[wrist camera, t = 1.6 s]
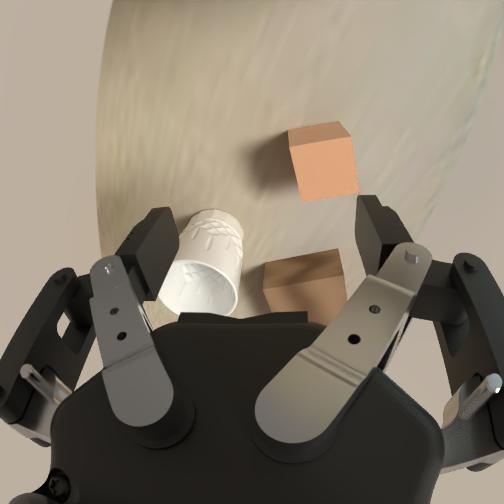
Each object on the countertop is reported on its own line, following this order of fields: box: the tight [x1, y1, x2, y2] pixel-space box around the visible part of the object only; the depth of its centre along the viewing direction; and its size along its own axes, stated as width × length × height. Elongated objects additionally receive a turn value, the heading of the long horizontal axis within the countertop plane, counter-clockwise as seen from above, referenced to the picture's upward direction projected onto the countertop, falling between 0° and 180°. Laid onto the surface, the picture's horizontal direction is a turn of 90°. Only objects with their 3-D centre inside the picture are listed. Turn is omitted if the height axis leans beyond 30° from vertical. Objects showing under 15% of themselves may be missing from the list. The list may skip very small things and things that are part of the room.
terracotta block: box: [288, 121, 359, 203], centre depth 25 cm, size 5×5×6 cm
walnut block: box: [263, 249, 347, 326], centre depth 36 cm, size 9×9×5 cm
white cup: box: [158, 209, 244, 316], centre depth 31 cm, size 8×8×10 cm
